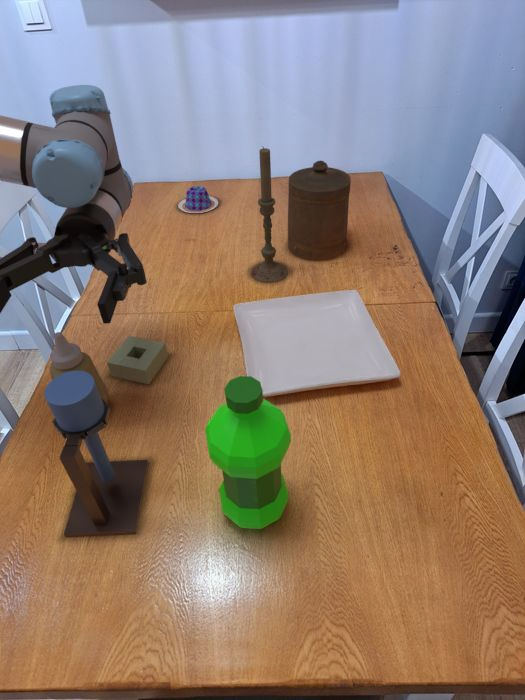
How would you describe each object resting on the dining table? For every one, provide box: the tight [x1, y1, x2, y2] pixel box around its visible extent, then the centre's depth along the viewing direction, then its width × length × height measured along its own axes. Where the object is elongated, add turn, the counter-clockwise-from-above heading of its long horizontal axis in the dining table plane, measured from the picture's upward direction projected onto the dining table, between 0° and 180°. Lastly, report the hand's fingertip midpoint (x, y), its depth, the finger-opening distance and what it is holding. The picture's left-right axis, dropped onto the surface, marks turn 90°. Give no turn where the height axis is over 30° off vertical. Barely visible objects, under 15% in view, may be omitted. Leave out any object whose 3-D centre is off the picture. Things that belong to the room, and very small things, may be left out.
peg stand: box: [52, 398, 150, 538], centre depth 68 cm, size 12×10×17 cm
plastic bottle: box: [204, 375, 292, 530], centre depth 63 cm, size 10×10×25 cm
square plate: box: [232, 289, 402, 398], centre depth 95 cm, size 27×27×4 cm
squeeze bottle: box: [49, 331, 109, 403], centre depth 80 cm, size 8×8×18 cm
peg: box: [43, 371, 115, 482], centre depth 66 cm, size 6×6×19 cm
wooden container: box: [287, 160, 352, 262], centre depth 119 cm, size 15×15×22 cm
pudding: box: [177, 185, 219, 214], centre depth 145 cm, size 12×12×5 cm
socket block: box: [106, 335, 169, 385], centre depth 93 cm, size 8×8×4 cm
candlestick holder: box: [250, 146, 289, 284], centre depth 108 cm, size 9×9×30 cm
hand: (42, 316), depth 54 cm, fingers open, 13 cm apart
